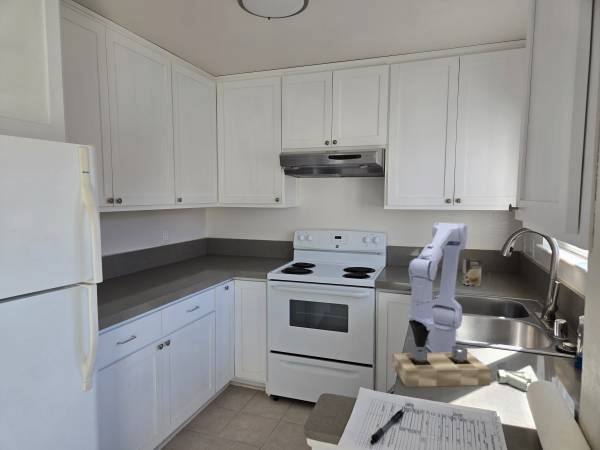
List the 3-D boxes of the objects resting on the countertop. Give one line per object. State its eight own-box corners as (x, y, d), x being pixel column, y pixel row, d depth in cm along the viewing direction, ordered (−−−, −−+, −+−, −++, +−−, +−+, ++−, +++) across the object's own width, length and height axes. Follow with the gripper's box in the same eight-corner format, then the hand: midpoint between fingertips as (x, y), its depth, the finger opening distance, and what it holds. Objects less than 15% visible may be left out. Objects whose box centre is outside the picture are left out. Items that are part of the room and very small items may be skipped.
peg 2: (448, 359, 111) (449, 346, 111) (462, 358, 111) (462, 345, 111) (455, 365, 107) (456, 351, 107) (469, 365, 107) (470, 351, 107)
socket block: (392, 367, 114) (392, 353, 114) (467, 365, 116) (468, 351, 115) (406, 386, 102) (406, 371, 102) (489, 384, 104) (490, 369, 103)
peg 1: (409, 359, 110) (410, 346, 110) (423, 359, 110) (423, 346, 110) (415, 366, 106) (415, 352, 106) (429, 365, 106) (429, 352, 106)
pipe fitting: (535, 396, 99) (526, 382, 106) (537, 382, 99) (527, 369, 105) (503, 392, 101) (495, 379, 107) (504, 379, 100) (496, 366, 107)
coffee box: (465, 286, 225) (466, 260, 224) (461, 283, 231) (462, 258, 230) (481, 286, 224) (482, 260, 223) (477, 284, 230) (478, 258, 229)
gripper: (399, 294, 114) (398, 337, 115) (417, 307, 99) (416, 357, 100) (421, 293, 114) (420, 336, 115) (443, 307, 100) (441, 356, 101)
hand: (419, 346), depth 108 cm, fingers closed
